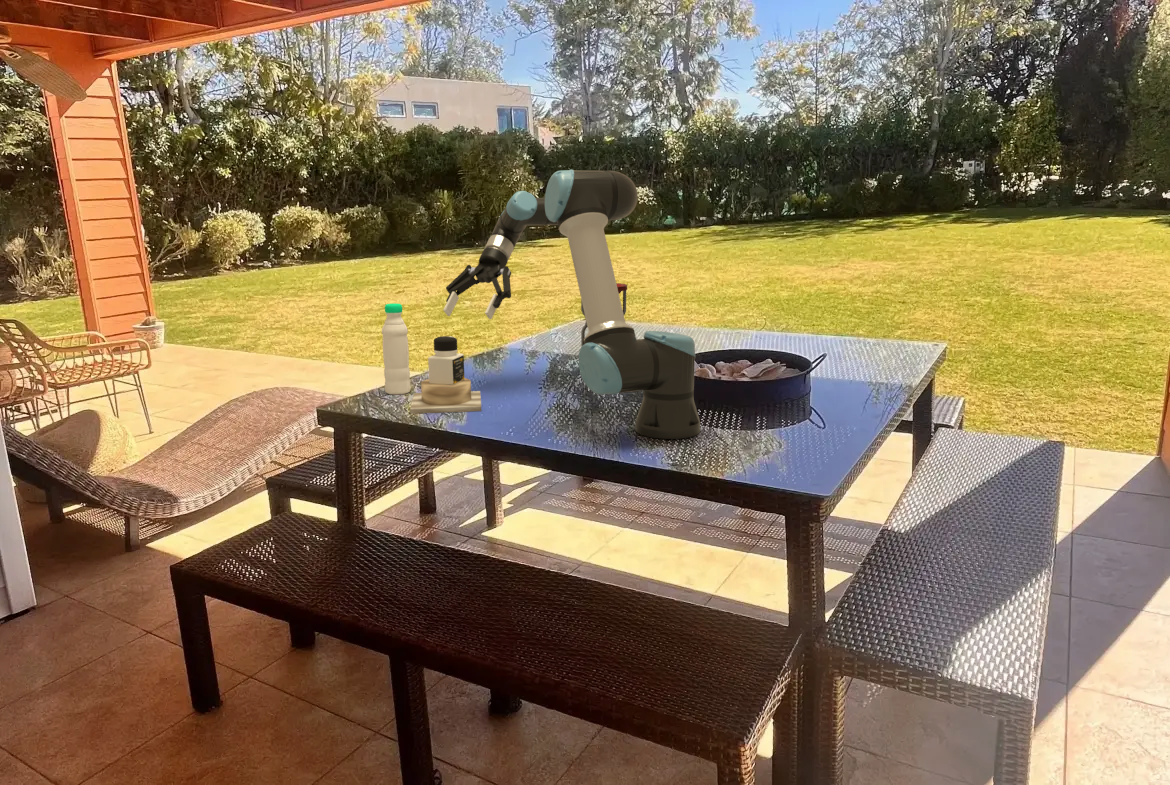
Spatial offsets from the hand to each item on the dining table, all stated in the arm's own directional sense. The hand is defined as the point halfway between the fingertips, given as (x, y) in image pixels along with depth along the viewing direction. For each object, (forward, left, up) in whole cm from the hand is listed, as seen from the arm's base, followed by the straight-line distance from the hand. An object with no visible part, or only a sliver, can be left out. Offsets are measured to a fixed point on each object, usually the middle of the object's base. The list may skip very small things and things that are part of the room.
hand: (466, 314), depth 224 cm
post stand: (-8, +6, -23) cm, 25 cm away
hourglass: (+53, -46, -23) cm, 73 cm away
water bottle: (+8, +20, -23) cm, 31 cm away
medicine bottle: (-8, +6, -17) cm, 20 cm away
